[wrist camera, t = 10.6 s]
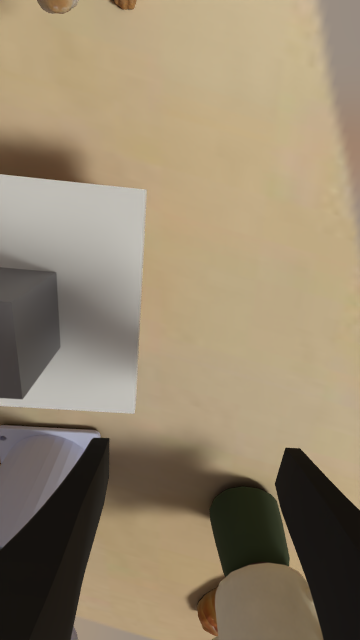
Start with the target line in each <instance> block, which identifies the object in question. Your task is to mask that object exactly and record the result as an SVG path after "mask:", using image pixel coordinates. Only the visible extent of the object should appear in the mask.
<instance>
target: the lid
mask: <svg viewBox="0 0 360 640" xmlns="http://www.w3.org/2000/svg"><path fill="white" fill-rule="evenodd" d="M146 198H147V190H145V189H135V188H126V187H116V186H107V185H97V184H88V183H78V182H69V181H59V180H50V179H40V178H31V177H21V176H12V175H2V174H0V406H12V407H29V408H47V409H64V410H81V411H98V412H115V413H132V414H134V413H135V407H136V392H137V372H138V353H139V334H140V314H141V295H142V275H143V256H144V237H145V217H146Z"/></svg>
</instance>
